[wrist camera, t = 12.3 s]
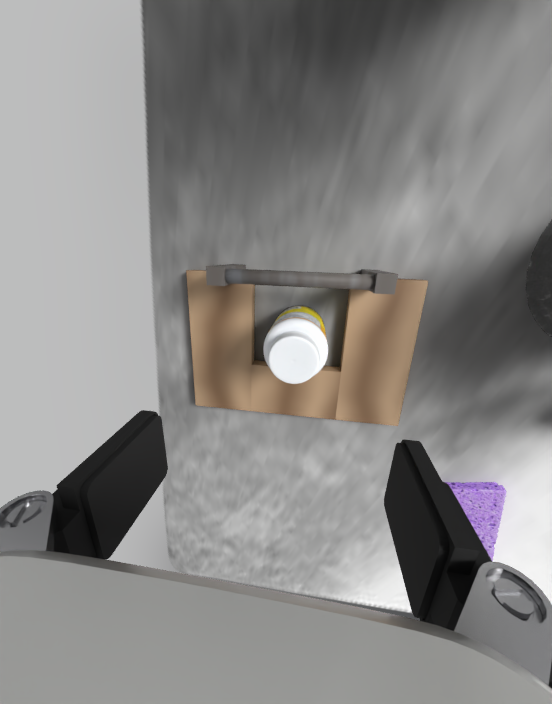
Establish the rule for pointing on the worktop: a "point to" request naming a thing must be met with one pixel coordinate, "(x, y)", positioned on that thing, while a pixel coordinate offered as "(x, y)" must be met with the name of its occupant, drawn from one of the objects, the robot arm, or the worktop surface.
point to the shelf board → (330, 382)
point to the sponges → (482, 509)
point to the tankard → (541, 281)
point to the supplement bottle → (296, 345)
